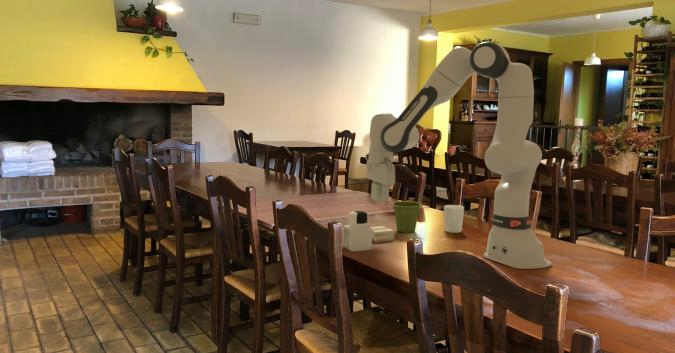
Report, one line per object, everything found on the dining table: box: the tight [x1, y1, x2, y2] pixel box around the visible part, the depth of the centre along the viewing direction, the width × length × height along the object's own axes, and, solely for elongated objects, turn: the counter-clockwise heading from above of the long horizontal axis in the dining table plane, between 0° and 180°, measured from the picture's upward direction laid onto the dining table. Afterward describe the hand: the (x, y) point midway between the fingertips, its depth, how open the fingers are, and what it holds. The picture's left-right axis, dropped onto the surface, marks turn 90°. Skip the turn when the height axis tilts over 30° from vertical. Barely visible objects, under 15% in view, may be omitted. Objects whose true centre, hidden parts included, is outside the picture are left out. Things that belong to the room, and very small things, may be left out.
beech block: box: [369, 225, 395, 243], centre depth 202 cm, size 8×8×4 cm
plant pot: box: [391, 200, 423, 234], centre depth 214 cm, size 12×12×11 cm
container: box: [343, 210, 373, 252], centre depth 187 cm, size 8×8×13 cm
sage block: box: [370, 182, 390, 202], centre depth 200 cm, size 5×5×6 cm
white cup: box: [443, 204, 465, 234], centre depth 216 cm, size 8×8×10 cm
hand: (380, 194), depth 200 cm, fingers closed on sage block, 5 cm apart
